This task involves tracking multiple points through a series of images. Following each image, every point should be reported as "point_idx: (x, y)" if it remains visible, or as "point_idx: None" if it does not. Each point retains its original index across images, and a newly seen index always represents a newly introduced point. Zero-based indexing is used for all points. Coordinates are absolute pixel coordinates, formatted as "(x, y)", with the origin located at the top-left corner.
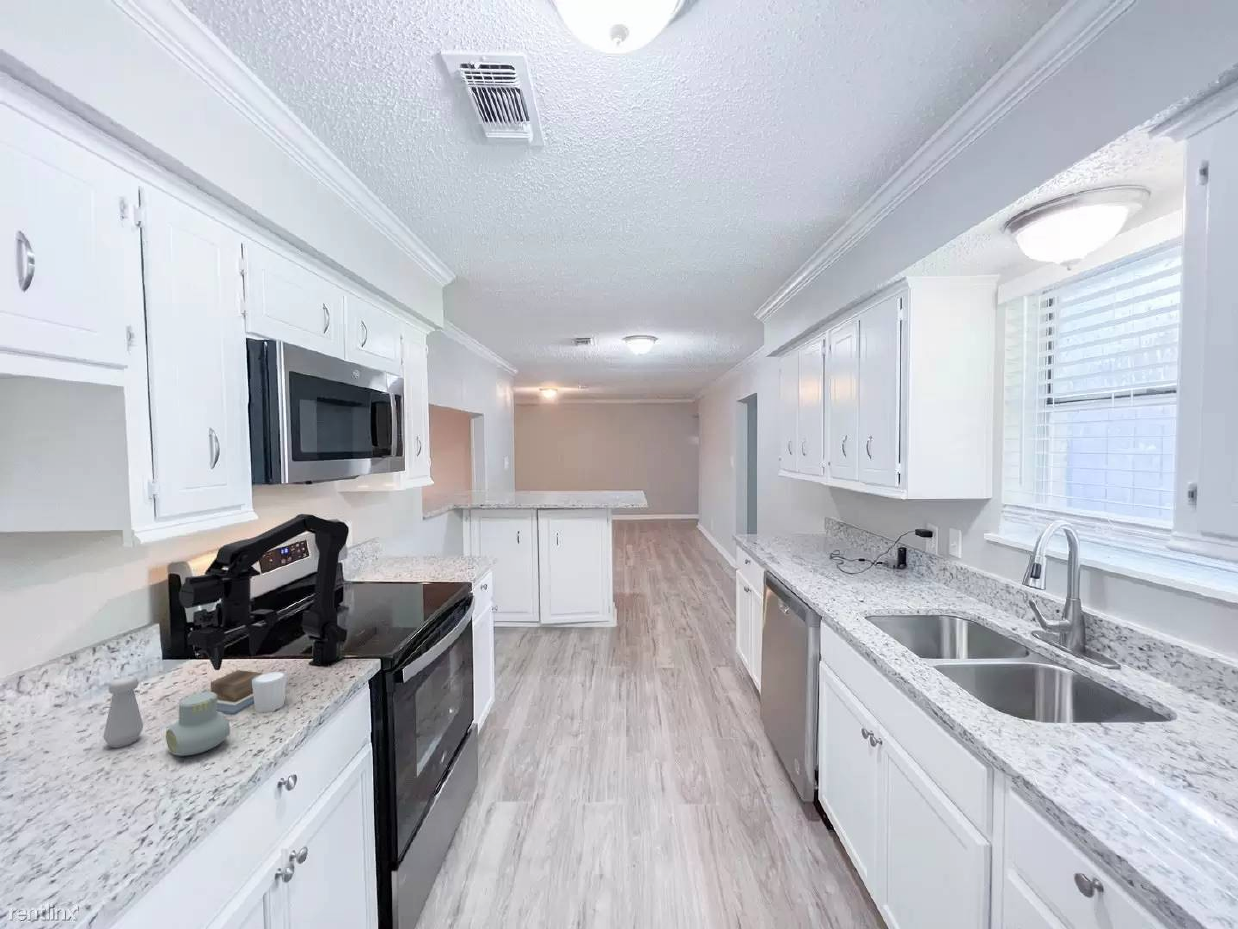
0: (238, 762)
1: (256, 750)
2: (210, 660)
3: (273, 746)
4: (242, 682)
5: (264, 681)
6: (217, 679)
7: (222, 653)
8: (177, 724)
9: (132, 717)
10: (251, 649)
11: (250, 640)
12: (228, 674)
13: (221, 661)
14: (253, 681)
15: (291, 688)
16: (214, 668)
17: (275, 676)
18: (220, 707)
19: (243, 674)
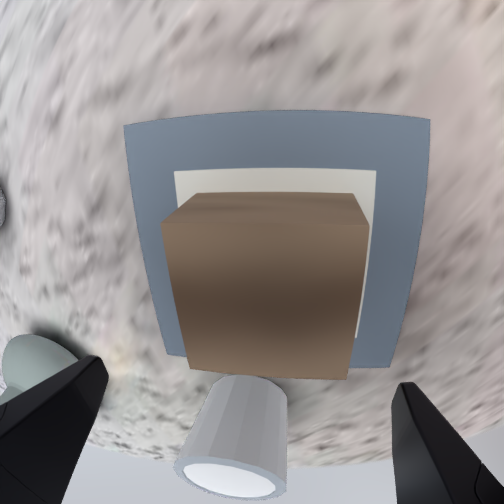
0: (95, 433)
1: (122, 441)
2: (30, 392)
3: (142, 454)
4: (228, 372)
5: (196, 480)
6: (202, 227)
7: (58, 487)
8: (7, 386)
9: None
10: (404, 428)
11: (438, 486)
12: (288, 226)
13: (84, 434)
14: (178, 464)
15: (380, 379)
16: (83, 361)
17: (240, 489)
18: (166, 295)
19: (309, 317)
